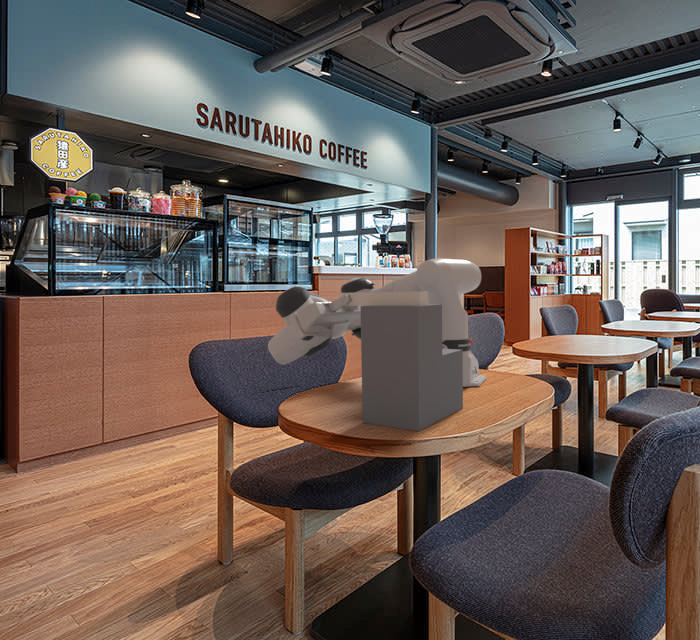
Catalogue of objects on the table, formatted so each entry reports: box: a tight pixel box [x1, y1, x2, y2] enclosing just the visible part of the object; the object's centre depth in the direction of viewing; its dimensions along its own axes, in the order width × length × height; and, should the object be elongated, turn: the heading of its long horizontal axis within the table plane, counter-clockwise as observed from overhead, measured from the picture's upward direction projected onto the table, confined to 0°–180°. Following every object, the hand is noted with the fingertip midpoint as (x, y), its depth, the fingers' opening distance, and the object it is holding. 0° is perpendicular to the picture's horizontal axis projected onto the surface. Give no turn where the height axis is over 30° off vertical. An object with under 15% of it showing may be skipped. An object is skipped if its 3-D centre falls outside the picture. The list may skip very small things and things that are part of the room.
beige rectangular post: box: [338, 291, 429, 306], centre depth 115 cm, size 4×21×3 cm, turn 56°
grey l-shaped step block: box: [360, 303, 464, 432], centre depth 118 cm, size 24×14×26 cm, turn 146°
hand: (355, 297), depth 119 cm, fingers closed on beige rectangular post, 4 cm apart
